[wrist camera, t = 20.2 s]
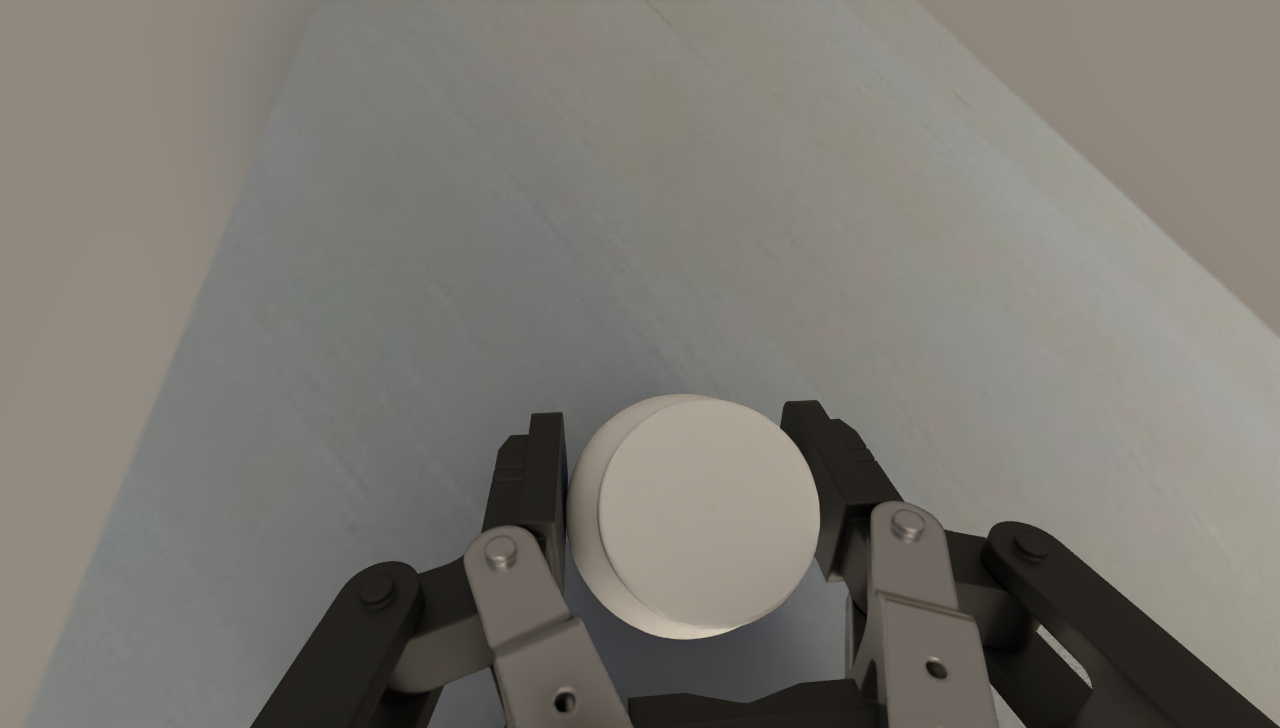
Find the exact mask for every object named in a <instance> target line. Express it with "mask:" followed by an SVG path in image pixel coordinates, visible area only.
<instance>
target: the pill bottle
mask: <svg viewBox="0 0 1280 728" xmlns="http://www.w3.org/2000/svg"><path fill="white" fill-rule="evenodd" d="M566 526H567V535H568V540H569V545H570V549H571V552H572V555H573V558H574V561H575V563H576V565H577V568H578V570H579V572H580V574H581V576H582V578H583V579H584V581H585V582H586V584H587V586H588V587H589V588H590V590H591V591H592V592H593V594H594V595H595V596H596V597H597V599H598V600H599V601H600V602H601V603H602V604H603V605H604V606H605V607H606V608H607V609H608V610H610V611H611V612H612V613H613V614H614V615H616V616H617V617H618V618H620V619H621V620H623V621H625V622H626V623H628V624H629V625H631V626H633V627H635V628H637V629H640V630H642V631H644V632H646V633H649V634H652V635H655V636H660V637H665V638H672V639H697V638H705V637H710V636H716V635H719V634H722V633H726V632H728V631H731V630H733V629H735V628H737V627H739V626H743V625H745V624H748V623H751V622H754V621H756V620H758V619H760V618H762V617H763V616H765V615H767V614H768V613H770V612H772V611H773V610H775V609H777V608H778V607H779V606H780V605H782V604H783V603H784V602H785V601H786V600H787V598H788V597H789V596H790V595H791V594H792V593H793V592H794V591H795V589H796V588H797V587H798V585H799V584H800V582H801V581H802V579H803V578H804V576H805V575H806V573H807V571H808V569H809V567H810V565H811V562H812V559H813V556H814V553H815V551H816V546H817V542H818V535H819V529H820V508H819V499H818V493H817V490H816V486H815V483H814V479H813V476H812V474H811V471H810V468H809V466H808V464H807V462H806V460H805V459H804V457H803V455H802V454H801V452H800V450H799V449H798V447H797V446H796V445H795V443H794V442H793V441H792V440H791V439H790V437H789V436H788V435H787V434H786V433H785V432H784V431H783V430H782V429H780V428H779V427H778V426H777V425H776V424H775V423H774V422H772V421H771V420H769V419H768V418H767V417H765V416H764V415H762V414H760V413H758V412H756V411H754V410H752V409H751V408H748V407H745V406H742V405H740V404H737V403H733V402H729V401H724V400H719V399H715V398H712V397H708V396H704V395H696V394H670V395H662V396H656V397H652V398H649V399H646V400H643V401H640V402H638V403H635V404H633V405H631V406H629V407H627V408H625V409H624V410H622V411H621V412H619V413H618V414H616V415H615V416H613V417H612V418H611V419H610V420H608V421H607V422H606V423H605V424H604V425H603V426H602V427H601V428H600V429H599V430H598V431H597V432H596V433H595V435H594V436H593V437H592V438H591V439H590V441H589V442H588V444H587V445H586V447H585V448H584V450H583V451H582V453H581V455H580V457H579V459H578V461H577V463H576V466H575V468H574V470H573V473H572V477H571V480H570V483H569V488H568V493H567V501H566Z"/></svg>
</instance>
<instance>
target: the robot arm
mask: <svg viewBox="0 0 1280 728" xmlns="http://www.w3.org/2000/svg"><path fill="white" fill-rule="evenodd" d="M780 429H782V430H783V431H784V432H785V433H786V434H787V435H788V436H789V437H790V439H791V440H792V441H793V442H794V443H795V445H796V446H797V447H798V449H799V450H800V452H801V454H802V455H803V457H804V459H805V460H806V462H807V464H808V466H809V468H810V471H811V474H812V476H813V479H814V483H815V486H816V490H817V493H818V499H819V508H820V529H819V535H818V542H817V546H816V551H815V553H814V554H815V557H816V559H817V561H818V563H819V566H820V568H821V570H822V573H823V575H824V577H825V579H826V582H838V581H845V583H846V585H847V587H848V589H849V593H848V596H847V600H846V627H845V679H841V680H830V681H818V682H806V683H799V684H796V685H794V686H791V687H789V688H786V689H784V690H781V691H779V692H776V693H774V694H771V695H769V696H766V697H764V698H761V699H759V700H756V701H754V702H750V703H737V702H732V701H726V700H721V699H715V698H710V697H704V696H698V695H693V694H687V693H680V694H668V695H657V696H645V697H634V698H628V714H627V712H626V710H625V708H624V706H623V704H622V702H621V700H620V698H619V696H618V694H617V692H616V690H615V687H614V685H613V683H612V681H611V679H610V677H609V675H608V673H607V671H606V669H605V667H604V665H603V663H602V661H601V658H600V656H599V654H598V652H597V650H596V648H595V646H594V644H593V642H592V640H591V638H590V636H589V634H588V632H587V629H586V627H585V625H584V624H583V622H582V620H581V619H580V617H579V616H578V615H577V614H575V615H573V616H572V615H571V613H570V611H569V609H568V607H567V605H566V603H565V601H564V599H563V596H564V570H565V545H566V501H567V493H568V469H567V455H566V444H565V432H564V421H563V413H562V412H554V413H534V414H532V415H531V421H530V428H529V435H511V436H510V437H509V438H508V439H507V440H506V441H505V443H504V444H503V445H502V446H501V448H500V449H499V450H498V455H497V460H496V464H495V469H494V474H493V479H492V480H493V482H492V484H491V488H490V493H489V498H488V503H487V507H486V512H485V517H484V522H483V527H482V531H481V534H480V535H479V536H477V537H476V538H475V539H474V540H473V541H472V542H471V543H470V545H469V546H468V548H467V550H466V552H465V555H463V556H462V557H460V558H459V559H457V560H455V561H453V562H451V563H449V564H447V565H444V566H441V567H438V568H435V569H432V570H429V571H426V572H423V573H420V574H417V572H416V570H415V569H414V568H413V567H411V566H410V565H408V564H406V563H403V562H397V561H389V562H383V563H378V564H375V565H373V566H370V567H368V568H366V569H364V570H362V571H361V572H359V573H357V574H356V575H355V576H354V577H352V578H351V579H350V580H349V581H348V582H347V583H346V584H345V585H344V587H343V588H342V589H341V591H340V592H339V594H338V595H337V597H336V598H335V600H334V601H333V603H332V604H331V606H330V607H329V609H328V610H327V612H326V613H325V615H324V617H323V618H322V620H321V621H320V623H319V624H318V626H317V627H316V629H315V630H314V632H313V633H312V635H311V636H310V638H309V639H308V641H307V642H306V644H305V645H304V647H303V648H302V650H301V651H300V653H299V654H298V656H297V657H296V659H295V660H294V662H293V663H292V665H291V666H290V668H289V669H288V671H287V673H286V674H285V676H284V677H283V679H282V680H281V682H280V683H279V685H278V686H277V688H276V689H275V691H274V692H273V694H272V695H271V697H270V698H269V700H268V701H267V703H266V704H265V706H264V707H263V709H262V710H261V712H260V713H259V715H258V716H257V718H256V719H255V721H254V722H253V724H252V725H251V727H250V728H427V726H428V724H429V721H430V719H431V716H432V714H433V711H434V709H435V707H436V704H437V702H438V699H439V697H440V694H441V692H442V689H443V687H444V685H445V684H448V683H450V682H453V681H455V680H458V679H460V678H462V677H465V676H467V675H470V674H472V673H475V672H477V671H480V670H482V669H485V668H487V667H489V668H490V672H491V675H492V678H493V682H494V685H495V688H496V692H497V695H498V698H499V702H500V705H501V708H502V712H503V715H504V718H505V722H506V725H507V728H999V725H998V720H997V715H996V710H995V706H994V701H993V696H992V692H991V687H990V684H991V685H992V686H993V687H994V688H995V690H996V691H997V692H998V693H999V694H1000V696H1001V697H1002V698H1003V699H1004V701H1005V702H1006V703H1007V704H1008V705H1009V707H1010V708H1011V709H1012V710H1013V712H1014V713H1015V714H1016V715H1017V716H1018V718H1019V719H1020V720H1021V721H1022V723H1023V724H1024V725H1025V726H1026V727H1027V728H1280V727H1279V726H1278V725H1276V724H1275V723H1274V722H1273V721H1272V720H1270V719H1269V718H1268V717H1267V716H1266V715H1264V714H1263V713H1262V712H1261V711H1260V710H1259V709H1257V708H1256V707H1255V706H1254V705H1253V704H1251V703H1250V702H1249V701H1248V700H1247V699H1246V698H1244V697H1243V696H1242V695H1241V694H1240V693H1238V692H1237V691H1236V690H1235V689H1234V688H1232V687H1231V686H1230V685H1229V684H1228V683H1227V682H1225V681H1224V680H1223V679H1222V678H1221V677H1219V676H1218V675H1217V674H1216V673H1215V672H1214V671H1212V670H1211V669H1210V668H1209V667H1208V666H1206V665H1205V664H1204V663H1203V662H1202V661H1200V660H1199V659H1198V658H1197V657H1196V656H1195V655H1193V654H1192V653H1191V652H1190V651H1189V650H1187V649H1186V648H1185V647H1184V646H1183V645H1182V644H1180V643H1179V642H1178V641H1177V640H1176V639H1174V638H1173V637H1172V636H1171V635H1170V634H1168V633H1167V632H1166V631H1165V630H1164V629H1163V628H1161V627H1160V626H1159V625H1158V624H1157V623H1155V622H1154V621H1153V620H1152V619H1151V618H1150V617H1148V616H1147V615H1146V614H1145V613H1144V612H1142V611H1141V610H1140V609H1139V608H1138V607H1136V606H1135V605H1134V604H1133V603H1132V602H1131V601H1129V600H1128V599H1127V598H1126V597H1125V596H1123V595H1122V594H1121V593H1120V592H1119V591H1118V590H1116V589H1115V588H1114V587H1113V586H1112V585H1110V584H1109V583H1108V582H1107V581H1106V580H1104V579H1103V578H1102V577H1101V576H1100V575H1099V574H1097V573H1096V572H1095V571H1094V570H1093V569H1091V568H1090V567H1089V566H1088V565H1087V564H1086V563H1084V562H1083V561H1082V560H1081V559H1080V558H1078V557H1077V556H1076V555H1075V554H1074V553H1072V552H1071V551H1070V550H1069V549H1068V548H1067V547H1065V546H1064V545H1063V544H1062V543H1061V542H1059V541H1058V540H1057V539H1056V538H1054V537H1053V536H1051V535H1050V534H1048V533H1047V532H1045V531H1043V530H1041V529H1039V528H1037V527H1034V526H1032V525H1028V524H1025V523H1021V522H1014V521H1006V522H1000V523H998V524H996V525H994V526H993V527H992V528H991V530H990V532H989V534H988V536H987V538H985V537H979V536H974V535H968V534H963V533H958V532H952V531H948V530H945V529H943V527H942V525H941V524H940V522H939V521H938V520H937V519H936V518H935V517H934V516H933V515H931V514H930V513H929V512H927V511H926V510H924V509H922V508H920V507H918V506H916V505H913V504H910V503H906V502H904V500H903V499H902V497H901V496H900V495H899V493H898V492H897V490H896V489H895V487H894V486H893V484H892V483H891V481H890V480H889V478H888V477H887V475H886V474H885V473H884V471H883V470H882V468H881V467H880V465H879V464H878V462H877V461H875V460H874V456H873V455H872V453H871V452H870V451H869V449H867V448H866V445H865V443H864V442H863V440H862V439H861V437H860V436H859V434H858V433H857V431H855V430H854V429H853V428H851V427H850V426H848V425H847V424H846V423H844V422H843V421H842V420H840V419H830V418H829V417H828V415H827V414H826V412H825V410H824V409H823V407H822V406H821V404H820V403H819V402H818V401H817V400H807V401H787V402H786V403H785V404H784V407H783V412H782V418H781V425H780ZM1040 624H1041V625H1042V626H1043V627H1044V628H1045V629H1046V630H1047V631H1048V632H1049V633H1050V634H1051V635H1052V636H1053V637H1054V638H1055V639H1056V640H1057V641H1058V642H1059V643H1060V644H1061V645H1062V646H1063V647H1064V648H1065V649H1066V650H1067V651H1068V652H1069V653H1070V654H1071V655H1072V656H1073V657H1074V658H1075V659H1076V660H1077V661H1078V662H1079V663H1080V664H1081V665H1082V666H1083V668H1084V669H1085V671H1086V672H1087V674H1088V676H1089V678H1090V680H1091V684H1092V689H1091V688H1090V687H1089V686H1088V685H1087V684H1086V683H1085V682H1084V680H1083V679H1082V678H1081V677H1080V676H1079V675H1078V674H1077V673H1076V672H1075V671H1074V670H1073V669H1072V668H1071V667H1070V666H1069V665H1068V664H1067V663H1066V662H1065V661H1064V660H1063V659H1062V658H1061V657H1060V656H1059V655H1058V654H1057V653H1056V652H1055V651H1054V649H1053V648H1052V647H1051V646H1050V645H1049V644H1048V643H1047V642H1046V641H1045V640H1044V639H1043V638H1042V637H1041V636H1040V635H1039V634H1038V633H1037V632H1036V631H1037V629H1038V628H1039V626H1040ZM628 715H629V716H628Z"/></svg>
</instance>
